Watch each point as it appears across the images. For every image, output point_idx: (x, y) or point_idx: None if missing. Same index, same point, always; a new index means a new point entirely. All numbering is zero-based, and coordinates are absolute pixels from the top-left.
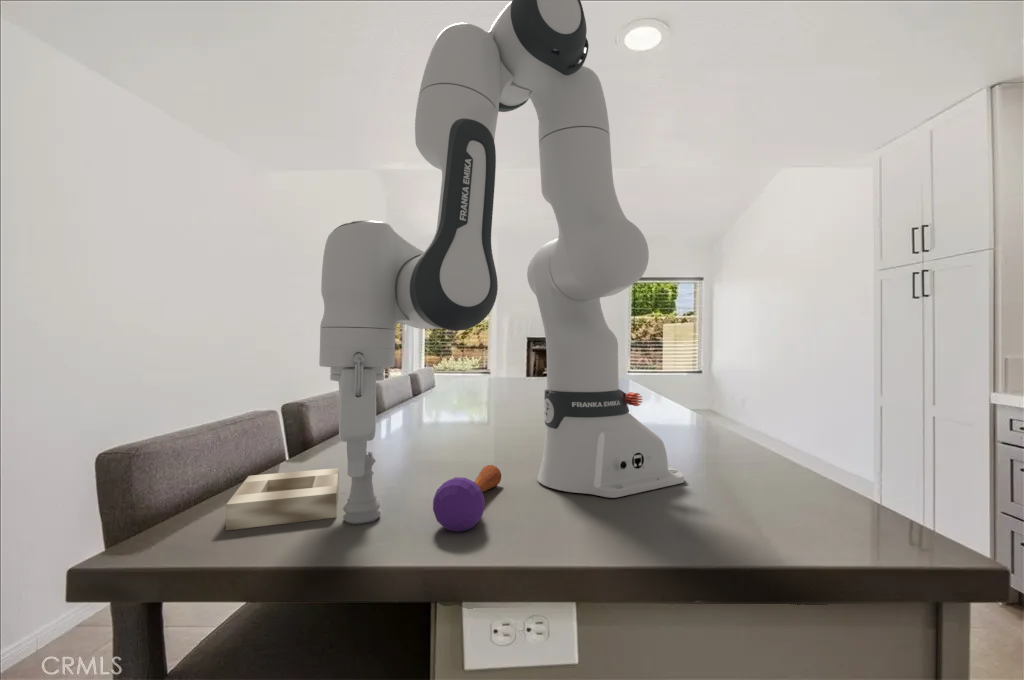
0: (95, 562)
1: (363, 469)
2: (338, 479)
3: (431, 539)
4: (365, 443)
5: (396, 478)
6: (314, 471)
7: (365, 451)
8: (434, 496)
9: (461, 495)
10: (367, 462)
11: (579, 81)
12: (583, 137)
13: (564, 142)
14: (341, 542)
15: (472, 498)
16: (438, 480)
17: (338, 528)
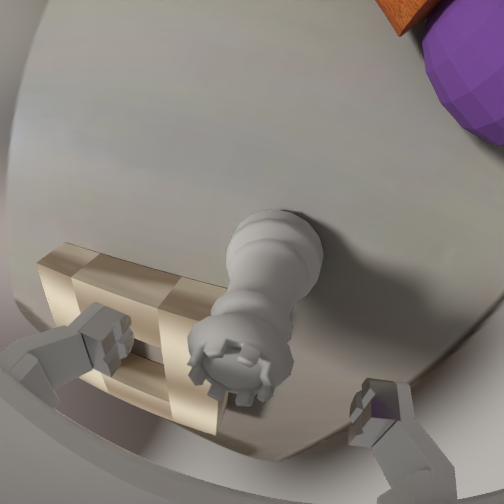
0: (264, 460)
1: (409, 396)
2: (64, 259)
3: (492, 160)
4: (453, 480)
5: (34, 120)
6: (56, 306)
7: (442, 453)
8: (484, 128)
9: None
10: (288, 359)
11: None
12: None
13: None
14: (388, 313)
15: None
16: (74, 21)
17: (311, 303)
